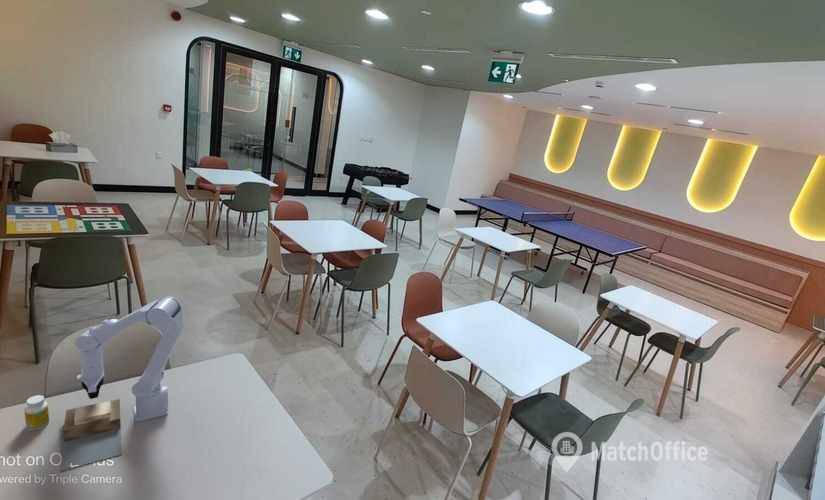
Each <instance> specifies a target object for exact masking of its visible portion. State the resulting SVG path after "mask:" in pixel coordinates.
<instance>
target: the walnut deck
mask: <svg viewBox="0 0 825 500" xmlns="http://www.w3.org/2000/svg"><path fill="white" fill-rule="evenodd" d="M110 401H111V418H107V419H102V420H98V421H93V422H89V423H84V424H80V425H74V417H75V408H76V407H75V408H70V409H66V410H65V417H64V424H63V440H64V441H63V443H64V442H65V441H69V440H73V439H77V438H82V437H86V436H90V435H94V434H98V433H102V432H107V431H111V430H115V429H119V428H121V427H122V426H121V425H122V424H121V404H120V402H121V401H120V398H119V399H115V400H110ZM121 429H122V428H121Z"/></svg>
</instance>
